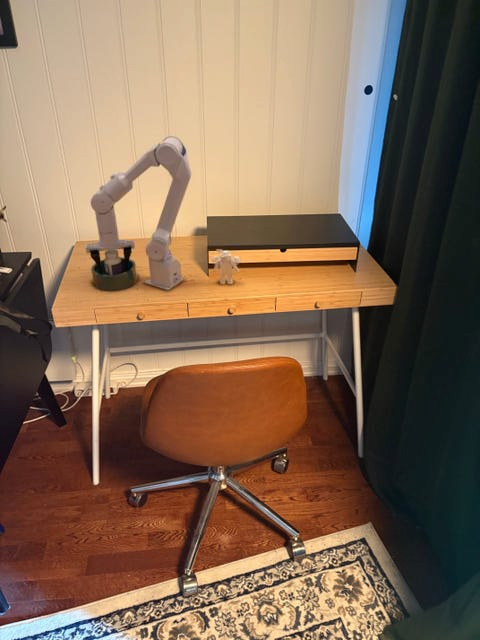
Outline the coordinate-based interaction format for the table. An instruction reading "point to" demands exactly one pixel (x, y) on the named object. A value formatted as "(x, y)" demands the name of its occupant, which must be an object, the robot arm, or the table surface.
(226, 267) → the blocky character figurine
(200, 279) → the table surface
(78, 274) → the table surface
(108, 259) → the pill bottle
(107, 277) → the pot
